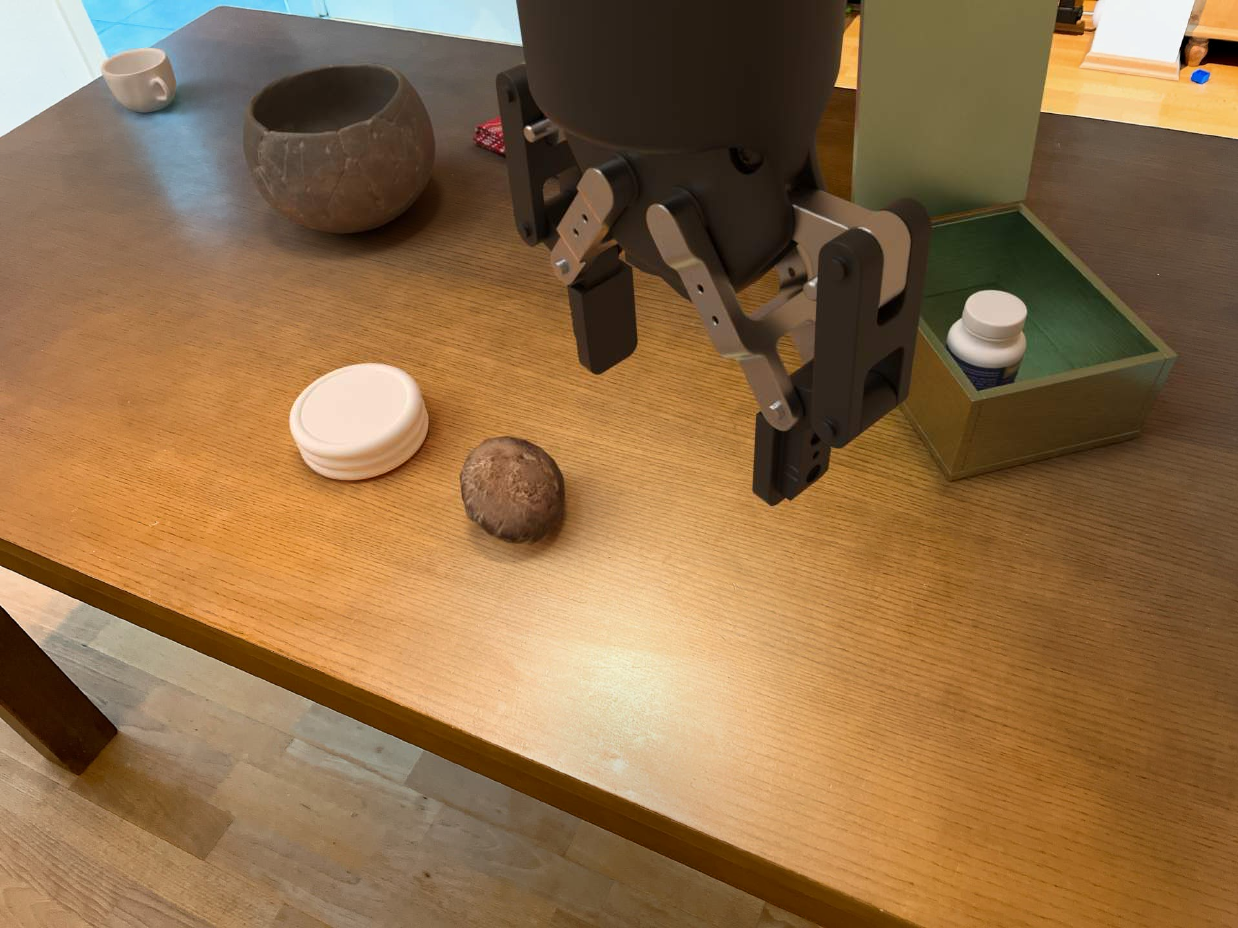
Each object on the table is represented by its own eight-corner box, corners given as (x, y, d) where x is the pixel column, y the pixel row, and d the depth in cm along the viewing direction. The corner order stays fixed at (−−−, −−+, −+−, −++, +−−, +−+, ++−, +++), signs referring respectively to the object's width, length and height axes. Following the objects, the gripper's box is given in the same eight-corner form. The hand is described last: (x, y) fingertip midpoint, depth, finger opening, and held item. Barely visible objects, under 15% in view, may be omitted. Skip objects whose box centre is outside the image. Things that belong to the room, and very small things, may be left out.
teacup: (109, 108, 115) (88, 66, 111) (163, 84, 118) (145, 42, 115) (150, 130, 110) (130, 86, 106) (206, 104, 114) (188, 61, 110)
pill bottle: (1001, 434, 66) (1034, 338, 60) (926, 419, 68) (950, 324, 61) (1008, 386, 70) (1040, 291, 63) (937, 373, 71) (960, 278, 65)
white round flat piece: (416, 378, 76) (406, 346, 73) (442, 459, 69) (432, 426, 67) (294, 413, 74) (280, 381, 72) (310, 500, 68) (295, 467, 65)
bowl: (291, 285, 86) (242, 161, 77) (261, 195, 98) (214, 78, 89) (471, 231, 90) (445, 108, 81) (422, 151, 102) (393, 35, 93)
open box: (1137, 438, 66) (1178, 355, 61) (948, 481, 65) (972, 401, 59) (999, 282, 79) (1022, 203, 74) (839, 315, 78) (850, 236, 72)
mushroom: (415, 493, 63) (455, 441, 59) (492, 456, 69) (533, 407, 65) (486, 585, 62) (532, 539, 58) (557, 539, 68) (603, 494, 64)
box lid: (1075, -97, 61) (1038, -103, 64) (868, -64, 59) (841, -72, 63) (1025, 200, 73) (996, 182, 77) (852, 234, 72) (831, 214, 75)
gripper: (1093, -120, 17) (934, 474, 29) (599, -214, 25) (635, 282, 37) (816, 9, 14) (767, 612, 26) (354, -145, 22) (480, 372, 34)
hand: (689, 418), depth 31 cm, fingers open, 8 cm apart
